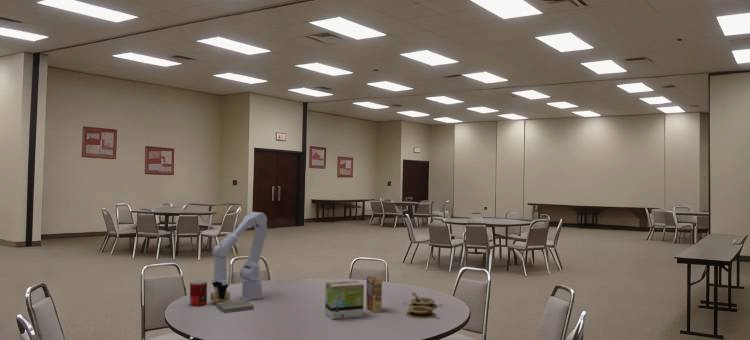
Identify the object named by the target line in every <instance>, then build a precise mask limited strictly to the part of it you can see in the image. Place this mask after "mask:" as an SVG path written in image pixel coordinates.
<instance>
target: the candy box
mask: <svg viewBox="0 0 750 340" xmlns="http://www.w3.org/2000/svg"><path fill="white" fill-rule="evenodd" d="M365 293H366V302H365V303H366V305H365V309H367V310H369V311H371V312H373V313H380V312H382V309H383V308H382V303H383V302H382V301H383V298H382V297H383V279H382V278H380V277H377V276H374V275H369V276H366V292H365Z"/></svg>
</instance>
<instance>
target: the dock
mask: <svg viewBox="0 0 750 340" xmlns="http://www.w3.org/2000/svg"><path fill="white" fill-rule="evenodd" d="M254 308H255V306H254V304H253V303H251V302H249V300H243V299H241V300H233V301H225V302H216V309H217V310H219V311H220V312H222V313H223V312H224V314H227V313H228V314H229V313H235V312H236V311H237V312H241V311H242V312H243V311H250V310H251V311H252V310H254Z"/></svg>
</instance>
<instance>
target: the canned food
mask: <svg viewBox="0 0 750 340" xmlns="http://www.w3.org/2000/svg"><path fill="white" fill-rule="evenodd" d="M207 303H208V281H206V280H200V279H199V280H192V281H190V283H189V304H190V306H192V307H202V306H203V307H204V306H206V305H207Z"/></svg>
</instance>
